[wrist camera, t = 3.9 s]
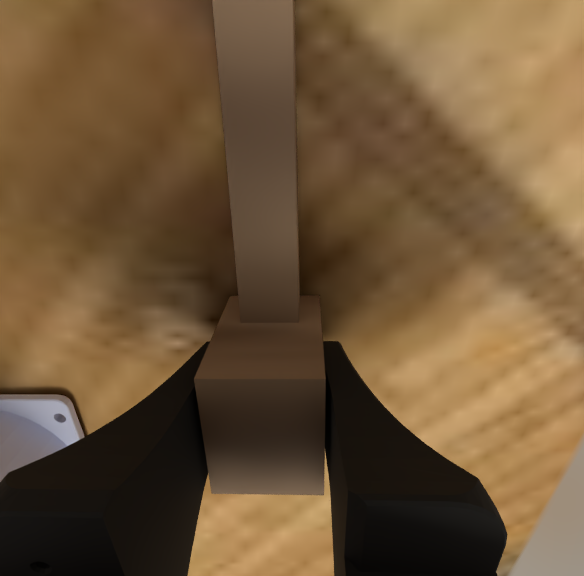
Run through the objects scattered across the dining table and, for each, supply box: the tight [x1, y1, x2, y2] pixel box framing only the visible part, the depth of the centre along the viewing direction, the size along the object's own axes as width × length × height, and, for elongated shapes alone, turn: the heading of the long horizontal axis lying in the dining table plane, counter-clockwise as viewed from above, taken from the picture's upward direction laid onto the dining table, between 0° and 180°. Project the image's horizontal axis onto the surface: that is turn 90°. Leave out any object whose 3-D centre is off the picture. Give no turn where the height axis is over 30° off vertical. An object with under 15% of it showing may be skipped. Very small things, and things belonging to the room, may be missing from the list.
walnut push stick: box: [194, 0, 326, 495], centre depth 10 cm, size 16×5×5 cm, turn 1°
